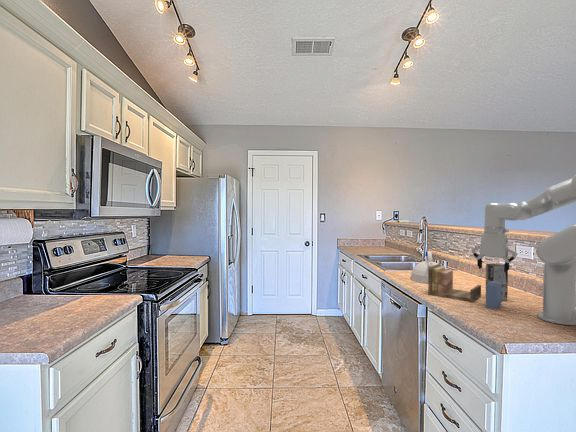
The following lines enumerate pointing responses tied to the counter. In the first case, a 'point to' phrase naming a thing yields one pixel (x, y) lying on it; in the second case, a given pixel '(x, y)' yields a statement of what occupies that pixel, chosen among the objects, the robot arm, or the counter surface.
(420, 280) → the kettle
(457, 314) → the counter surface
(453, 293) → the book rack
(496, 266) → the coffee box
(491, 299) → the navy book
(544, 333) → the counter surface
